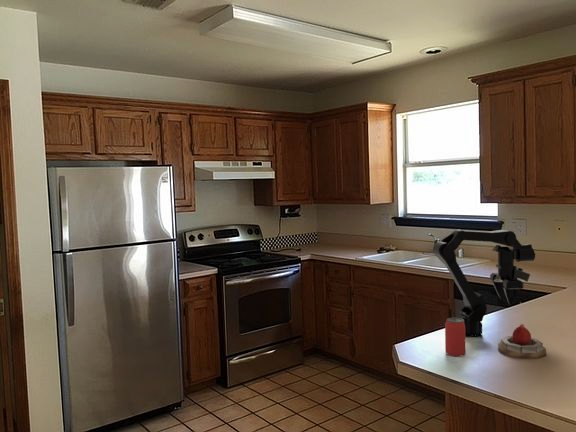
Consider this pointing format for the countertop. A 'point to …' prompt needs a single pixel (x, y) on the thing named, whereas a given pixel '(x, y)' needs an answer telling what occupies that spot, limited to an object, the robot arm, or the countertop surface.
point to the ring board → (522, 355)
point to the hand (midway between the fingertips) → (506, 302)
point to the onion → (521, 335)
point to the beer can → (455, 337)
